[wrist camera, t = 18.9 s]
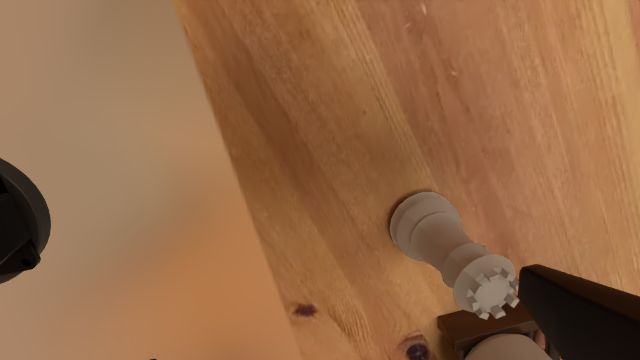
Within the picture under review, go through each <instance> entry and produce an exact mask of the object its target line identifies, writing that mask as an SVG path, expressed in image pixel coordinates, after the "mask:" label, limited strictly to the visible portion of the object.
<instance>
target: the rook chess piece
mask: <svg viewBox="0 0 640 360" xmlns="http://www.w3.org/2000/svg"><path fill="white" fill-rule="evenodd" d="M390 234H391V237H392V240H393V242H394V243H395V244H396V245H397V246H398V247H399V249H401V250H402V251H403V252H404V253H405V255H406V256H408V257H410V258H413V259H415V260H418V261H423V262H426V263H430V264H431V265H432V266H433V267H435V268H436V269H437V270H438V271H440V272H441V274H442V278H443V281H444V282H445V283H446V285H447V286H448V287H450V288H453V295H454V299H455V302H456V303H457V305H458V306H459V307H460V308H461V309H463V310H466V311H469V312H474V313H476V314H477V315H478V317H480V318H483V319H486V320H487V319H488V316H489V314H488V313H487V312H490V313H491V314H492V315H493V316H494V317H495V318H496V319H497V318H500V317H502V316H504V315H506V314H505V312H504V310H503V309H502V308H501V307H502V306H503V305H504V304H505V303H506V302H507V303H508V304H509V305H510V306H512V307H513V308H514V307H515V306H516V305H517V303H518V302H519V299H518V298H517V297H516V296H515V295H514V294H513V292H514V290H515V291H516V292H518V285H519V280H518V279H517V278H516V277H517V276H516V275H515V271H514V266H513V265H512V263H511V262H510V261H509V259H508V258H505V257H503V256H500V255H490V252H489V251H488V249H487V248H486V247H485V246H483V245H481V244H479V243H474V242H473V241H472V240H471V239H470V238H469V237H468V236H467V235H466V233H465V232H464V231H463V225H462V222H461V217H460V214H459V212H458V211H457V210H456V208H455V207H454V206H453V205H452V203H450V202H448V200H447V199H446V198H445V197H444V196H442V195H440V194H437V193H435V192H420V193H418V194H415V195H413V196H410V197H408V198H407V199H406V200H405V201H404V202H402V203H401V204H400V205H399V206H398V207H397V209H396V211H395V213H394V214H393V216H392V218H391V224H390Z"/></svg>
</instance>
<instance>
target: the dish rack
mask: <svg viewBox="0 0 640 360" xmlns="http://www.w3.org/2000/svg"><path fill="white" fill-rule="evenodd" d="M517 298H518V299H519V297H518V296H517ZM501 308H502V309H503V310H504V312H505V314H506V315H504V316H502V317H500V318H497V319H496V318H495V317H494V316H493V315H492V314H491V313H490V312H487V313H488V314H489V316H488V319H487V320H486V319H483V318H480V317H478V315H477V314H476V313H474V312H469V311H466V310H464V311H460V312H456V313H452V314H448V315H444V316H441V317H438V328H439V329H440V330H441V332H442V333H443V335H444V336H445V338H446V339H447V340H448V342H449V343H450V345H451V346H452V348H453V349H454V351H455V352H457V360H465V358H466V356H467V355H468V353H469V352H470V351H471V350H472V348H473V347H475V346H476V345H477V344H478V343H480V342H481V341H483V340H484V339H486V338H488V337H491V336H493V335H497V334H520V335H524V336H527V337H529V338H530V339H532V340H533V341H534V333H535V330H537V329H540V328H539V327H538V326H537V324H536V323H535V321H534V320H533V319H532V317H531V316H530V315H529V313H528V312H527V310H526V309H525V308H524V306H523V305H522V303H521V302H520V300H519V302H518V303H517V305H516V306H515V307H514V308H513V307H512V306H510V305H509V304H508V303H507V302H506V303H505V304H504V305H503V306H502V307H501ZM545 353H546V354H547V355H548V356H549V357H550V358H551V359H552V360H559V358H560V355H559V354H558V353H557V351H556V350H555V349H554V347H553V346H552V345H551V343H550V342H549V341H548V339H547V338H546V344H545Z"/></svg>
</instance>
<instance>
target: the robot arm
mask: <svg viewBox="0 0 640 360" xmlns="http://www.w3.org/2000/svg"><path fill="white" fill-rule="evenodd" d="M30 236H31V234H30V232H29V230H28V228H27V226H26V224H25V222H24V220H23V218H22V215H21V213H20V211H19V209H18V207H17V205H16V203H15V201H14V199H13V197H12V196H11V195H10V194H9V192H8V190H7V188H6V186H5V184H4V182H3V180H2V178H1V176H0V276H2V275H7V274H11V273H16V272H21V271H26V270H30V269H33V268H34V267H35V266H36V265H37V264H38V263H39V262H40V260H41V258H40V255H39V253H38V251H37V249H36V247H35V245H34V243H33V241H32V239H31V237H30ZM25 258H28V259H30V260H31V261H32V262H28V261H27V260H26V259H25ZM518 297H519V300H520V302H521V303H522V305H523V306H524V308H525V309H526V310H527V312H528V313H529V315H530V316H531V317H532V319H533V320H534V321H535V323H536V324H537V326H538V327H539V328H540V330H541V331H542V332H543V334H544V335H545V337H546V338H547V339H548V341H549V342H550V343H551V345H552V346H553V347H554V349H555V350H556V351H557V353H558V354H559V355H560V357H561V358H562V359H563V360H640V296H636V295H633V294H630V293H627V292H624V291H621V290H618V289H614V288H611V287H608V286H605V285H602V284H599V283H596V282H592V281H589V280H586V279H583V278H580V277H577V276H574V275H571V274H567V273H564V272H561V271H558V270H555V269H552V268H549V267H545V266H542V265H539V264H534V265H530V266H526V267H523V268H521V270H520V273H519V285H518ZM151 360H156V359H151Z"/></svg>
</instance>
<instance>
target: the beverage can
mask: <svg viewBox="0 0 640 360" xmlns="http://www.w3.org/2000/svg"><path fill="white" fill-rule="evenodd" d="M465 360H552V359H551V358H550V357H549V356H548V355H547V354H546V353H545V352H544V351H543V350H542V349H541V348H540V347H539V346H538V345H537V344H536V343H535V342H534V341H533V340H532V339H530V338H529V337H527V336H524V335H520V334H497V335H493V336H491V337H488V338H486V339H484V340H483V341H481V342H480V343H478V344H477V345H476V346H475V347H474V348H473V349H472V350H471V351H470V352H469V353H468V355H467V356H466V358H465Z"/></svg>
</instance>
